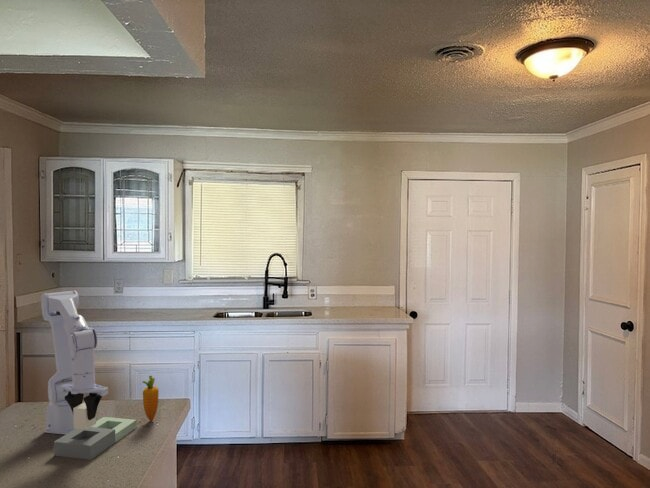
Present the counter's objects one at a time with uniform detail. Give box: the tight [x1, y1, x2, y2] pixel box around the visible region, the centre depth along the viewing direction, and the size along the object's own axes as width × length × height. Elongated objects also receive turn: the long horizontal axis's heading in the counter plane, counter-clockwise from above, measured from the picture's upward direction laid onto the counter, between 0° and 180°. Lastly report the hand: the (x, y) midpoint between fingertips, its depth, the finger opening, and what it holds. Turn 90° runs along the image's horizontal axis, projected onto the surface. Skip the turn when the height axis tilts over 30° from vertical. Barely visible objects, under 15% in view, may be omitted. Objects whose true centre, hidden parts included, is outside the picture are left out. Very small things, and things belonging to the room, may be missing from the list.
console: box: [53, 416, 137, 461], centre depth 132 cm, size 20×12×4 cm, turn 168°
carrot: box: [142, 375, 159, 422], centre depth 144 cm, size 5×5×15 cm
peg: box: [73, 402, 97, 430], centre depth 126 cm, size 4×4×6 cm
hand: (84, 417), depth 126 cm, fingers closed on peg, 4 cm apart
